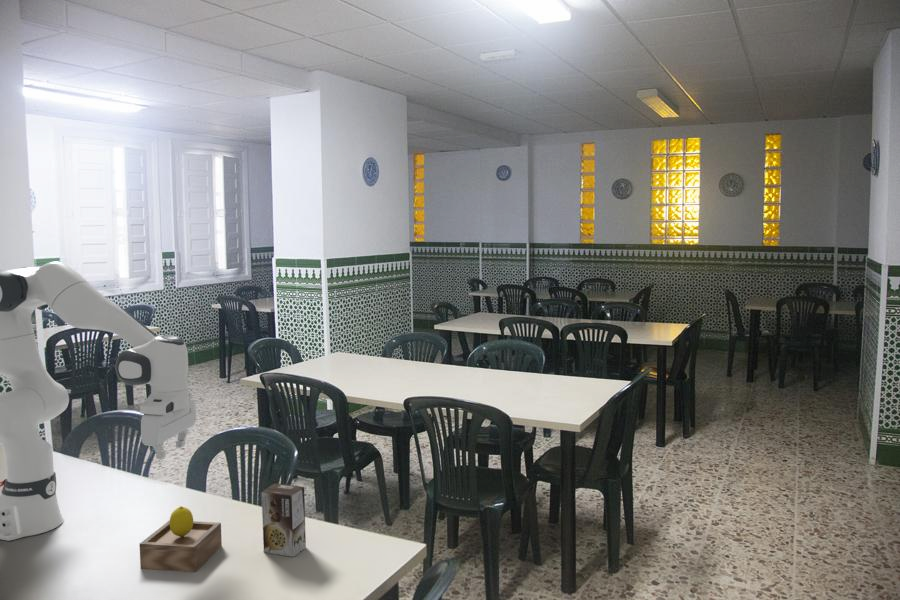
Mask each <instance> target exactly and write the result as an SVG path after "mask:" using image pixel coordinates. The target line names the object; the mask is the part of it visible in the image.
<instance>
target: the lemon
mask: <svg viewBox="0 0 900 600" xmlns="http://www.w3.org/2000/svg"><path fill="white" fill-rule="evenodd" d="M169 520H170V529H171V531H172V533H173V534H175V535H177V536H180V537H181V538H183V537H184V536H185V535H186V534H188V533H189V532H190V531H191V529H192V527H193V521H194V516H193V513H192V511H191V509H189V508H187V507H184V506H182V505H181V506H179V507H177V508H176V509H174V510H173V511H172V512H171V515H170V517H169Z"/></svg>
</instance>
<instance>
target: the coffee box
mask: <svg viewBox="0 0 900 600" xmlns="http://www.w3.org/2000/svg"><path fill="white" fill-rule="evenodd" d="M260 494H261V511H262V512H261V515H262V538H263V539H262V540H263V542H262V543H263V553H267V554H271V555H272V554H274V555H278V554H279V556H284V557H291V558H294V557H295V556H297V555H298V554H300V553H301V552H302V551H303V550H304V549H306V548H305V547H307V545H306V544H307V543H306V541H307V540H306V539H307V538H306V510H305V509H306V506H305V502H306V501H305V500H306V499H305V486H300V485H293V484H292V485H291V484H285V483H284V484H283V483H273V484H271V485H270V486H268V487H267V488H266V489H264V490H263V491H261V493H260ZM300 551H301V552H300Z"/></svg>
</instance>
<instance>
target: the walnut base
mask: <svg viewBox="0 0 900 600" xmlns="http://www.w3.org/2000/svg"><path fill="white" fill-rule="evenodd" d="M222 543H223V542H222V522H212V521H210V522H209V521H198V520H197V521H196V520H195V521H194V520H193V527H192V529H191V531H190V532H189V533H188V534H186V535H185V536H184V537H183V538H181V537H180V536H177V535H175V534H173V533H172V531H171V529H170V519H169V520H168V521H167V522H165V523H164V524H163V525H161V526H160V527H159V528H158V529H156V530H155V531H153V532H152V533H151V534H150V535H149V536H148V537H146V538H145V539H143V540H142V541H141V542H140V543H139V563H140V564H139V565H140V569H142V568H145V569H144V570H160V571H173V572H192V573H196V572H197V571H198V570H199V569H200V568H201V567H202V566H203V565H204V564H205V563H206V562H207V561H208V560H209V559H210V558H211V557H212V556H213V555H214V554H215V553H216V552H217V551H218V550H219V549H220V548H221V547H222V545H223V544H222Z"/></svg>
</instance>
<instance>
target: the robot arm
mask: <svg viewBox="0 0 900 600" xmlns="http://www.w3.org/2000/svg"><path fill="white" fill-rule="evenodd" d="M48 307H49V309H51V310H52V311H53V312H54V314H55V315H57V317H59V319H61V320H62V321H63V322H64V323H66V324H68V326H71V327H73V328H76V329H82V330H98V331H103V332H108V333H109V332H110V333H112V334H115V335H117V336H118V337H120V338H121V339H123V341H125V342H126V343H127V344H129V345H130V346H131V348H128V349H126V350H124V351H121V353H119V355H118V356H117V358H116V359H115V367H114V369H115V373H116V376H117V377H118V379H119V381H121V382H122V383H123V384H125V386H126V385H127V386H141V385H150V390H151V391H150V394H149V395H148V397H147V398H146V399H145V401H143V403H142V404H141V405H140V406H139V413H140V414H141V415H142V417H141V419H140V434H141V442H142V444H143V445H144V446H149V447H152V448H153V450H154V452H155V458H156V459H157V460H163V459H164V458H166V456H167V455H166V450H164V448H163V447H164V442H167V441H168V440H169V439H172V438H173V437H176V436H177V439H176V440H175V446H176V448H180V449H181V448H183V447H185V446H186V439H187V436H188V433H189V432H188V431H189V428H191V427H193V426H195V424H196V422H197V413H196V403H195V401H194V400H193V395H192V394H191V392H190V391H189V387H190V386H189V382H188V373H189V356H188V355H189V354H188V349H187V345H186V342H185V341H184V339H182V338H181V337H178V336H175V335H172V334H171V335H168V334H164V335H163V334H162V335H157V334H156V333H155V332H154V331H153V330H151V329H150V328H149V327H148V326H146V325H145V324H144V323H143V322H141V321H140V320H139V319H138V318H136V317H135V316H134V315H133V314H131V313H130V312H129V311H127V310H126V309H125V308H123V307H122V306H120V305H118V304H117V303H115V302H113V301H111V300H110V299H109V298H107V297H106V296H105V295H103V294H102V293H101V292H99V291H98V290H97V289H96V288H95V287H94V286H93V285H92V284H91V283H90V282H89V281H87V279H86V278H84V276H82V275H81V274H80V273H78V272H77V271H76V270H75V269H73V268H72V267H70V266H69V265H67V264H66V263H63V262H61V261H51V262H50V261H49V262H47V263H45V264H42V265H41V266H22V267H18V268H11V269H7V270H0V375H1V376H3V377H4V378H5V379H7V381H8V382H9V383H10V385H11V387H12V390H10V391H7V392H4V393H3V392H2V393H0V445H1V447H2V451H3V454H4V459H5V461H4V462H5V469H6V470H5V471H6V478H4V480H2V481H0V488H1V487H2V489H1V492H0V540H3V541H9V542H10V541H14V540H17V539H21V538H25V537H30V536H35V535H40V534H42V533H47V532H49V531H51V530H54V529H55V528H58V527H60V526H61V525H62V524H63V523H64V518H63V516H62V513H61V509H60V506H59V501H58V498H57V497H58V496H57V492H56V491H57V476H56V474H57V473H56V472H55V471H54V469H55V468H54V449H53V446H52V444H51V443H49V442H48V441H47V440H44V439H43V438H42V437H41V435H40V432H39V430H38V427H39V425H41V424H43V423H45V422H48V421H51V420H53V419H55V418H56V417H57V416H59V415H61V414H62V413H63V412H64V411H66V410H67V408H68V406H69V403H70V395H69V393H68V391H67V389H66V388H65V386H64V385H63V384H61V383H59V382H58V381H55V380H54V379H53V377H52V376H51V375H50V373H49V372H48V371H47V369H46V368H45V367H46V366H44V363H43V362H42V358H41V355H40V350H39V347H38V343H37V340H36V339H37V338H36V334H35V331H34V327H33V322H32V314H33V313H34V311H35V310H36V309H37V310H40V311H43V310H45V309H46V308H48Z"/></svg>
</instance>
